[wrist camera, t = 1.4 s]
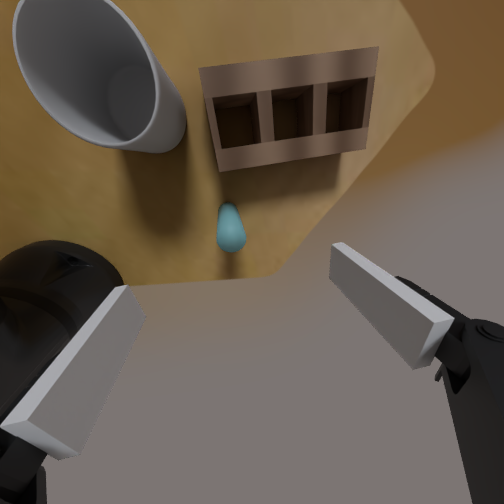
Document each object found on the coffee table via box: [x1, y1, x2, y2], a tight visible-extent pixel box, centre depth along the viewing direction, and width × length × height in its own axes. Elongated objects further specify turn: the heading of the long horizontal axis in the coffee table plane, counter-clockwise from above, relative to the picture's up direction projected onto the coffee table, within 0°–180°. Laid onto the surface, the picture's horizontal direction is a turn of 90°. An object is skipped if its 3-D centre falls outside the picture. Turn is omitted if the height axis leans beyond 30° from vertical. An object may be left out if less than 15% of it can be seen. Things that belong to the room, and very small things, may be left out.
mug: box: [12, 0, 186, 153], centre depth 16 cm, size 12×8×11 cm
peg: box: [217, 202, 246, 252], centre depth 24 cm, size 3×3×11 cm
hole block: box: [198, 46, 379, 172], centre depth 22 cm, size 18×9×5 cm, turn 98°
